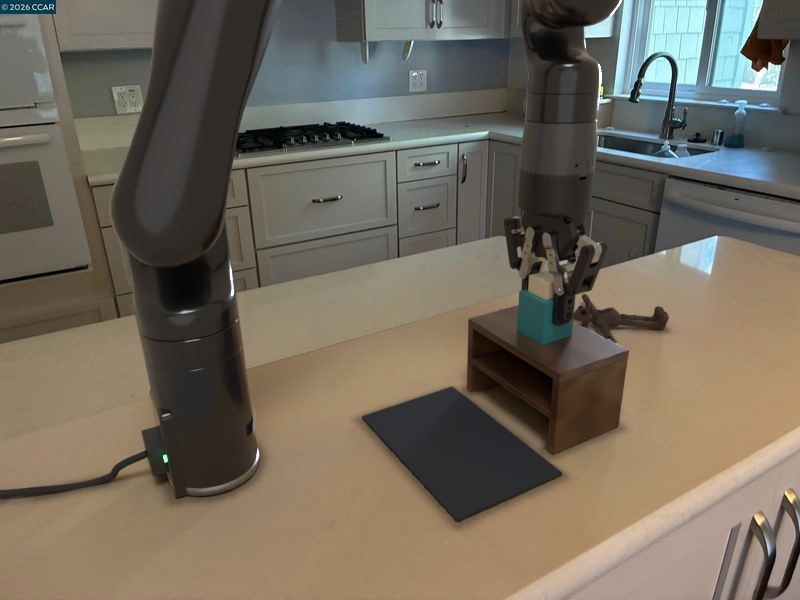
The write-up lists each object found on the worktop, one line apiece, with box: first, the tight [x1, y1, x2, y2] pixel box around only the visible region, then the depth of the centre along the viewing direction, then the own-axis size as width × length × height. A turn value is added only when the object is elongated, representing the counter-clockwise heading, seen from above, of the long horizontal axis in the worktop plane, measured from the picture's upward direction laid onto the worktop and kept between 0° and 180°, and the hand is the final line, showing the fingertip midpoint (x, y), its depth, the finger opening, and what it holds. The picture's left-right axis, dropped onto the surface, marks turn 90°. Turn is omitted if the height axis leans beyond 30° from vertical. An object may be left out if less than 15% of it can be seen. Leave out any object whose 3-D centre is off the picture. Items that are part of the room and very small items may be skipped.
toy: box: [517, 270, 576, 345], centre depth 70 cm, size 4×4×7 cm
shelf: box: [466, 304, 630, 456], centre depth 73 cm, size 10×16×10 cm, turn 30°
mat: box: [361, 385, 563, 523], centre depth 68 cm, size 13×20×1 cm, turn 30°
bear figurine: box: [573, 293, 670, 344], centre depth 94 cm, size 18×4×14 cm
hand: (545, 314), depth 70 cm, fingers closed on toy, 4 cm apart
